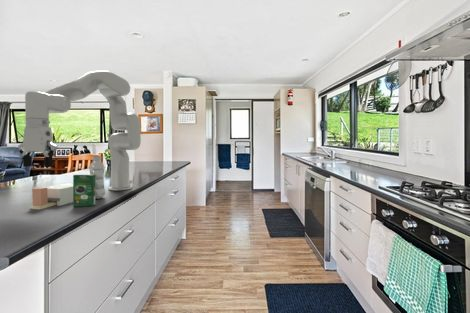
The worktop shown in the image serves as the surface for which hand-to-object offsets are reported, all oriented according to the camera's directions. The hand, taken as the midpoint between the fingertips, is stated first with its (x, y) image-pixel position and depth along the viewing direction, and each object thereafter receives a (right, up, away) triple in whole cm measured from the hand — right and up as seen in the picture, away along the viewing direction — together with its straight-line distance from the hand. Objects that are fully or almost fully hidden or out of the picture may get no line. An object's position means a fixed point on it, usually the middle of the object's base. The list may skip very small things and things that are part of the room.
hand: (37, 166), depth 109 cm
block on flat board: (+1, -16, +8) cm, 18 cm away
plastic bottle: (+14, -16, +19) cm, 29 cm away
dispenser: (+2, -16, +13) cm, 20 cm away
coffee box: (+16, -17, +5) cm, 24 cm away
